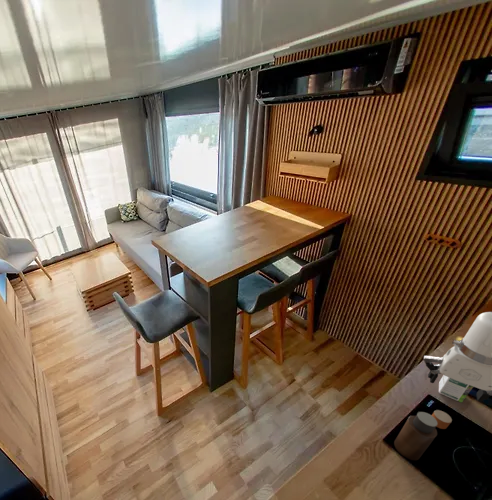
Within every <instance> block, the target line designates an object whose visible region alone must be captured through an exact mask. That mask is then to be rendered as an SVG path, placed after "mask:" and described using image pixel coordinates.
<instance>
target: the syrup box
mask: <svg viewBox="0 0 492 500" xmlns="http://www.w3.org/2000/svg"><path fill="white" fill-rule="evenodd" d="M473 388H474V387H473V386H471V385H468V384H465V383H463V382H460V381H457V380H455V379H452V378H449V377H447V376H445V375H443V374H442V377H441V378H440V380H439V382H438V394H440V395H443V396H444V397H447V398H450V399H452V400H454V401H457V402H459V403H463V402H464V400H465V399H466V398H467V396H468V395H469V394H470V392H471V391H472V389H473Z"/></svg>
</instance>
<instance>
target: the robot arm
mask: <svg viewBox="0 0 492 500" xmlns="http://www.w3.org/2000/svg"><path fill="white" fill-rule="evenodd" d="M451 344H452V345H453V346H452V347H451V348H449V349H448V350H447V351H446V353H444V354H443V356H433V355H423V361H424V363H425V366H426V367H427V368H428V370H429V372H428V374H427V378H428V379H429V383H430V384H435V382H436V381H437V379H438V377H439V375H440V374H441V375H442V376H443V375H445V376H447V377H449V378H452V379H455V380H457V381H460V382H463V383H465V384H468V385H471V386H473V388H477V389H479V390H478V391H477V392H476V400H477V402H479V403H483V401H487V400H488V399H489V398H490V397H491V396H492V311H485V312H482V313H480V314H479V315H477V317H476V318H475V319H474V321H473V323H472V324H471V326H470V327H469V329H468V331H467V332H466V333H465V335H464V337H462V338H461V339H460V340H458V339H457V340H456V339H452V341H451ZM434 363H435V364H434ZM436 363H437V364H436Z"/></svg>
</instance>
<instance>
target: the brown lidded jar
mask: <svg viewBox="0 0 492 500" xmlns="http://www.w3.org/2000/svg"><path fill="white" fill-rule="evenodd" d="M415 417H416V415H410V416H408V418H407V420H406V421H405V423H404V424H403V426H402V428H401V430H400V431H399V433H398V434H397V436H396V438H395V439H394V441H393V445H394V447H395V449H396V451H397V452H398V453H399V454H400V455H401V456H403V457H404V458H406V459H408V460H411V461H418V460H420V459H421V457H422V456H423V455H424V454H425V452H426V450H427V449H428V448H429V447H430V445H431V444H432V443H433V442H434V440H435V438H436V437H437V436H438V430H437V429H436V428H435V429H434V430H433V431H432V433H430V434H427V433H424V432H421V431H420V430H418V429H417V428H416V427H415V426H414V424H413V420H414V419H415Z"/></svg>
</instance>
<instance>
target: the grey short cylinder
mask: <svg viewBox="0 0 492 500" xmlns="http://www.w3.org/2000/svg"><path fill="white" fill-rule="evenodd" d="M431 415H432V414H430V413H428V412H425V411H418V412H417V413H416V415H415V416H416V417H415V419H414V420H413V424H414V426H415V427H416V428H417V429H418V430H420V431H421V432H424V433H427V434H430V433H432V431H433V430H434V429H436V428H437V427H436V426H437V424H438V423H437V421H436V419H435V418H434V417H433V416H431Z"/></svg>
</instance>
